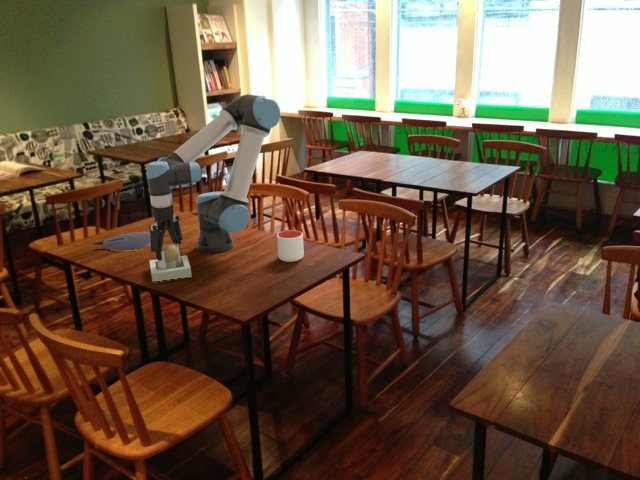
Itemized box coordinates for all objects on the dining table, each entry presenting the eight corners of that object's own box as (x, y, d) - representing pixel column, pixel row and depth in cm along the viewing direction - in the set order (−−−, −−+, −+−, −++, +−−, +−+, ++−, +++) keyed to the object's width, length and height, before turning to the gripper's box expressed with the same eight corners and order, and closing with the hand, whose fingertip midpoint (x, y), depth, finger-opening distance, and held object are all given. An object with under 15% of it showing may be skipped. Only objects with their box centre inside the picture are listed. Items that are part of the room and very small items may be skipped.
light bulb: (170, 273, 215) (168, 248, 212) (158, 270, 219) (155, 245, 215) (183, 268, 220) (180, 243, 217) (171, 265, 224) (168, 240, 221)
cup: (308, 255, 232) (307, 231, 229) (296, 264, 223) (295, 239, 220) (285, 252, 236) (284, 228, 233) (273, 261, 228) (272, 236, 224)
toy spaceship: (90, 257, 239) (89, 249, 238) (97, 238, 261) (95, 231, 260) (160, 249, 245) (159, 242, 244) (161, 232, 267) (160, 225, 266)
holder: (187, 263, 228) (186, 255, 227) (191, 276, 215) (190, 268, 214) (150, 268, 224) (149, 260, 223) (152, 282, 211) (151, 273, 210)
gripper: (172, 196, 221) (179, 253, 228) (133, 211, 204) (142, 272, 212) (188, 198, 217) (194, 256, 225) (150, 213, 201) (158, 275, 208)
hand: (169, 263), depth 218 cm, fingers open, 7 cm apart
